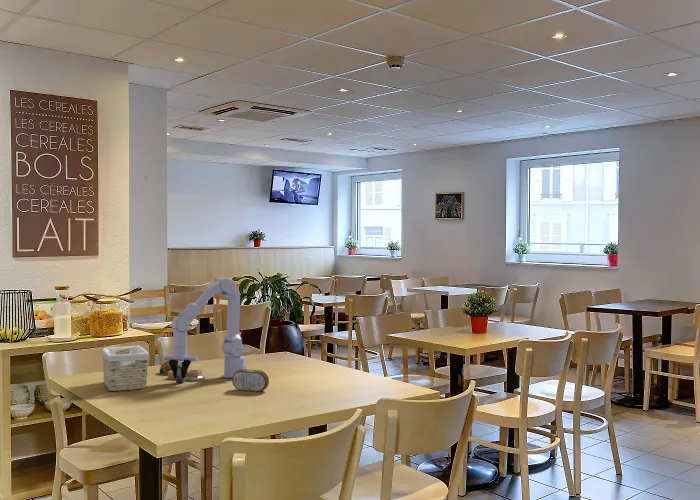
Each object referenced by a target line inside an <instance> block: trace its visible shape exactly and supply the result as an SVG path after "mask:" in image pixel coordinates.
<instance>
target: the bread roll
mask: <svg viewBox="0 0 700 500" xmlns="http://www.w3.org/2000/svg"><path fill="white" fill-rule="evenodd" d="M169 362H170V360H165V361H163V363H162V364H161V365H160V368H159V373H161V374H162V375H166V376H168V372H169V371H172V369H171V367H170V365H169ZM181 362H182V361H178V365H182V363H181Z"/></svg>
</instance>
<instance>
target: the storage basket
mask: <svg viewBox="0 0 700 500" xmlns="http://www.w3.org/2000/svg"><path fill="white" fill-rule="evenodd" d="M101 356H102V360H103V361H102V363H103V364H102V369H103V370H102V372H103V384H104V385H105V387H107V389H108V391H110V392H115V391H116V392H118V391H120V392H121V391H127V390H129V391H132V390H139V389H140V390H142V389H145V388H146V387H147V378H148V377H147V375H148V367H149V360H150V352H148V351H147V350H146V349H145V348H144V347H142V345H129V346H128V345H126V346H125V345H123V346H113V347H112V346H111V347H104V348H102V351H101Z"/></svg>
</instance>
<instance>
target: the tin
mask: <svg viewBox="0 0 700 500" xmlns="http://www.w3.org/2000/svg"><path fill="white" fill-rule="evenodd" d="M231 379H232V385H233V387H234V388H235V389H236V390H237V391H240V392H241V391H242V392H243V391H244V392H252V391H258V392H257V393H261V392H263V391H265V390H266V389H268V386H269V383H270V379H269V376H268V374H267V373H266V372H265V371H263V370H260V369H247V368H246V369H240V370H238V371H237V372H235V373H234V375H233V377H232V378H231ZM259 391H260V392H259Z"/></svg>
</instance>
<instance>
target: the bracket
mask: <svg viewBox="0 0 700 500" xmlns="http://www.w3.org/2000/svg"><path fill="white" fill-rule="evenodd" d="M201 375H203V370H202V369H188V370H187V373H186V377H189V378H198V377H200V376H201ZM167 379H168V380H176V378H174V375H173V372H172V371H169V372H168V375H167Z"/></svg>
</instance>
